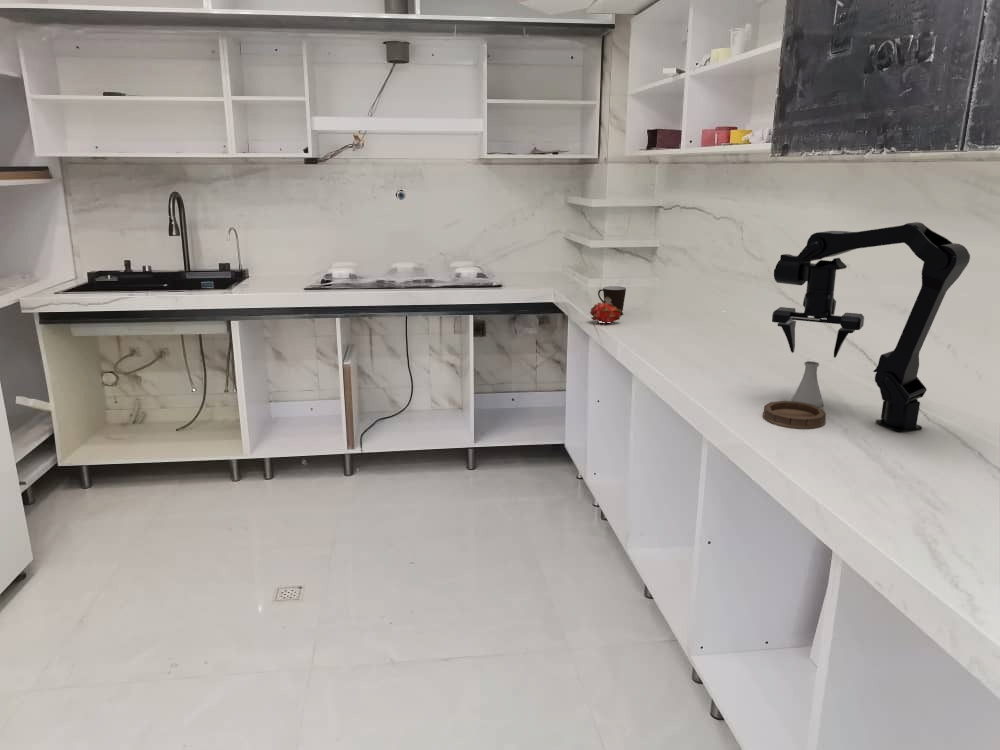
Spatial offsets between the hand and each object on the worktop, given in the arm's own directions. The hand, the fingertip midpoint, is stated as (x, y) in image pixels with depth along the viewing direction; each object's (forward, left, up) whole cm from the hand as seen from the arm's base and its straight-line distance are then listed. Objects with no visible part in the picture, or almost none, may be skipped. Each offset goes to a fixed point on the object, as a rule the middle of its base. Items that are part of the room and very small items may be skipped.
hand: (813, 354), depth 168 cm
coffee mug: (+114, -3, -12) cm, 114 cm away
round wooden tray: (-8, +10, -12) cm, 18 cm away
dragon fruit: (+98, +7, -12) cm, 99 cm away
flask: (0, 0, -12) cm, 12 cm away
